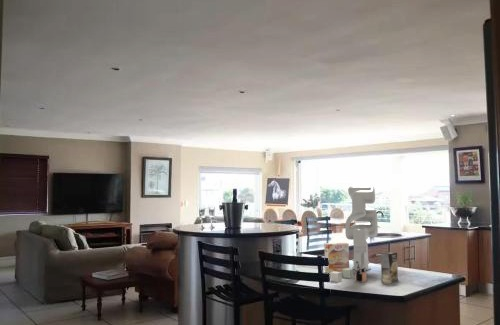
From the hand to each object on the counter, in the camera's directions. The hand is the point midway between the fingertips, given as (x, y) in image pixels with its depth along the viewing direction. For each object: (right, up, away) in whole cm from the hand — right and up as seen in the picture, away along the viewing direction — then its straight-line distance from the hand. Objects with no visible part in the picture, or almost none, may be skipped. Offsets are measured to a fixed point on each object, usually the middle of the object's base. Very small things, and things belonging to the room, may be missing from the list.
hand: (361, 279), depth 254 cm
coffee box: (+18, -1, +3) cm, 18 cm away
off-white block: (-15, -1, +2) cm, 15 cm away
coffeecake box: (-8, -3, +29) cm, 30 cm away
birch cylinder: (+13, 0, -7) cm, 15 cm away
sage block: (-5, -2, +14) cm, 14 cm away
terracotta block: (0, -1, 0) cm, 1 cm away
